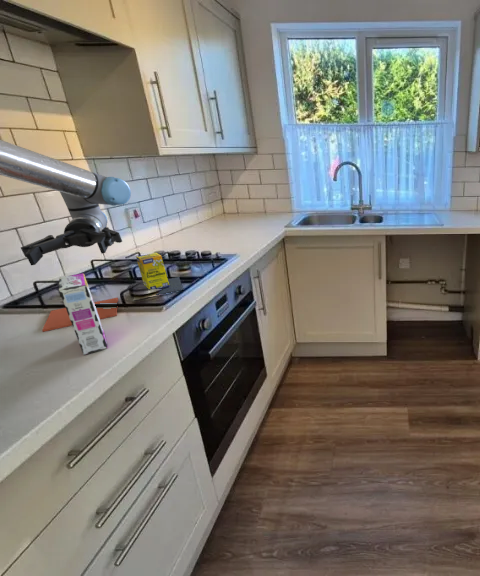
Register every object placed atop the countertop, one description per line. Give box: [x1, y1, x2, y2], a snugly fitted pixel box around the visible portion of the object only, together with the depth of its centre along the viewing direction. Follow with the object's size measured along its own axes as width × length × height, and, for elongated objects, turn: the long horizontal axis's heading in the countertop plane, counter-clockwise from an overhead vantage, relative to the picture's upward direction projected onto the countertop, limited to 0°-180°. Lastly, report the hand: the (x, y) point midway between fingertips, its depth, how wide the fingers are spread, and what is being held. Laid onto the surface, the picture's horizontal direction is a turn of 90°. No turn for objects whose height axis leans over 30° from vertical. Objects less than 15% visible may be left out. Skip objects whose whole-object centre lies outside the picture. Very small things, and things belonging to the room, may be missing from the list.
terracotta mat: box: [41, 297, 119, 333], centre depth 103 cm, size 16×14×1 cm
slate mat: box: [156, 276, 185, 295], centre depth 120 cm, size 14×14×1 cm
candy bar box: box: [58, 273, 109, 356], centre depth 85 cm, size 11×5×16 cm, turn 40°
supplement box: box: [135, 252, 170, 289], centre depth 118 cm, size 6×6×11 cm
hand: (66, 253), depth 86 cm, fingers open, 13 cm apart
